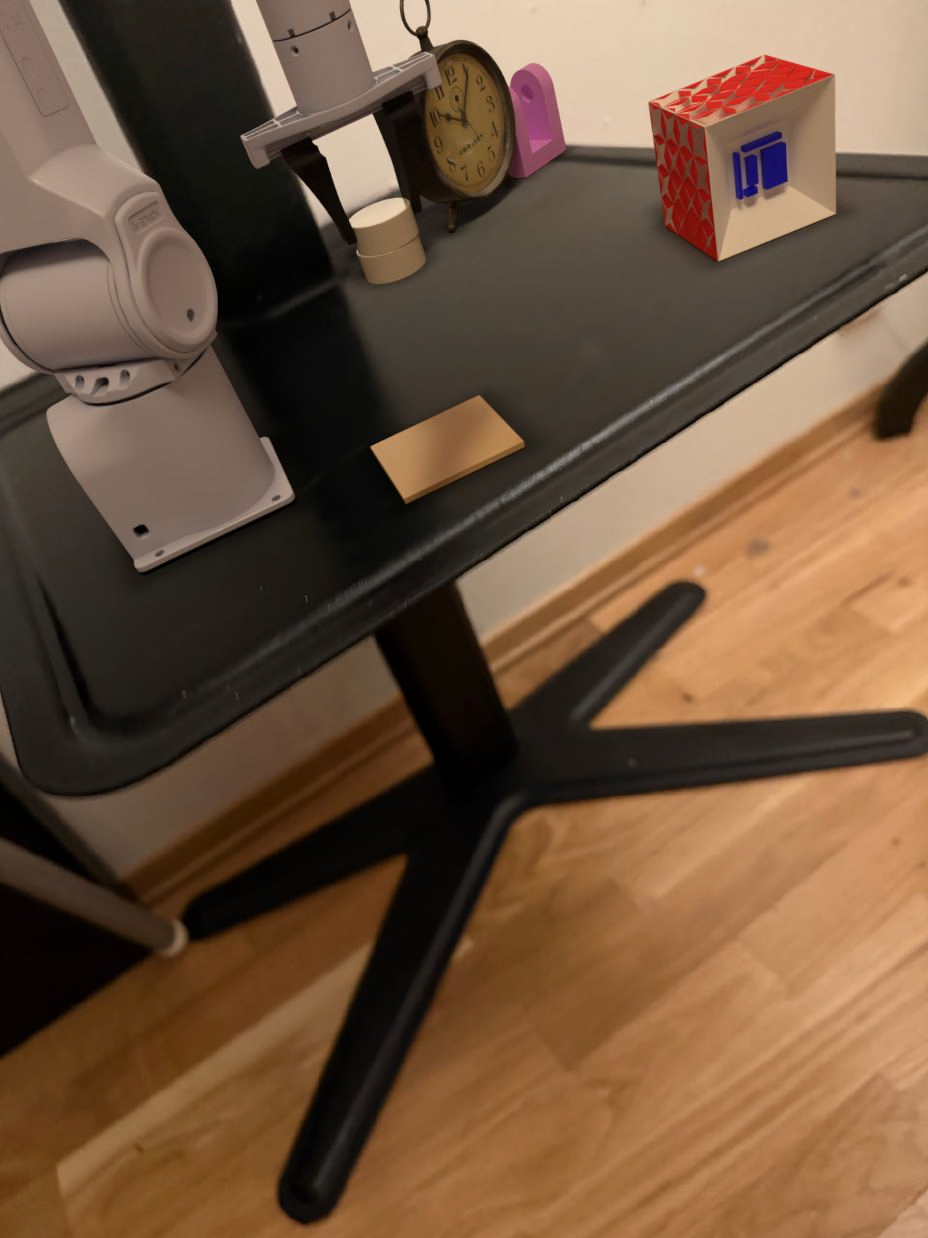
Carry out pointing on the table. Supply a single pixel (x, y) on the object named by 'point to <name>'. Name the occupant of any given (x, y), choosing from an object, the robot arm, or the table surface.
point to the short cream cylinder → (384, 226)
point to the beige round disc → (394, 263)
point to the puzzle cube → (746, 154)
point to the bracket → (534, 120)
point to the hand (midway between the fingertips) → (383, 224)
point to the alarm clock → (463, 124)
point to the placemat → (445, 448)
